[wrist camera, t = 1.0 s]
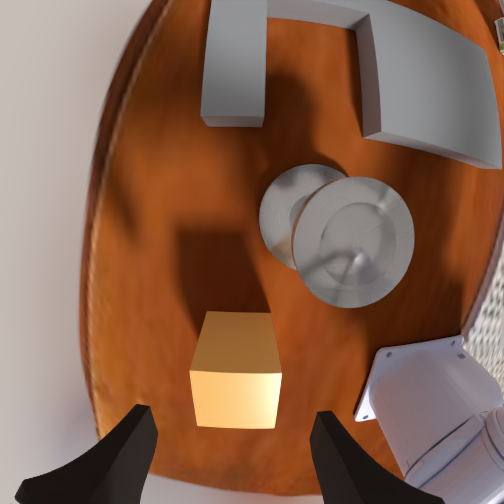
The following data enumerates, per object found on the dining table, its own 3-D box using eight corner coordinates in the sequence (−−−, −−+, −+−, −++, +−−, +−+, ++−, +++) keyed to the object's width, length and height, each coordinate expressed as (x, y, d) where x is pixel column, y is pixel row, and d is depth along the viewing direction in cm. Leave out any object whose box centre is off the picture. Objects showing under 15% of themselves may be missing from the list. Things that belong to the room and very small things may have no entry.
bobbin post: (362, 170, 15) (436, 166, 8) (353, 268, 16) (413, 322, 9) (260, 161, 15) (271, 142, 8) (256, 266, 16) (263, 329, 9)
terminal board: (467, 57, 12) (484, 49, 10) (480, 168, 14) (501, 169, 12) (219, -3, 12) (215, -24, 9) (207, 126, 14) (200, 116, 12)
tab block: (271, 312, 17) (281, 373, 11) (267, 363, 18) (274, 428, 12) (206, 311, 17) (189, 370, 11) (209, 361, 18) (197, 425, 12)
